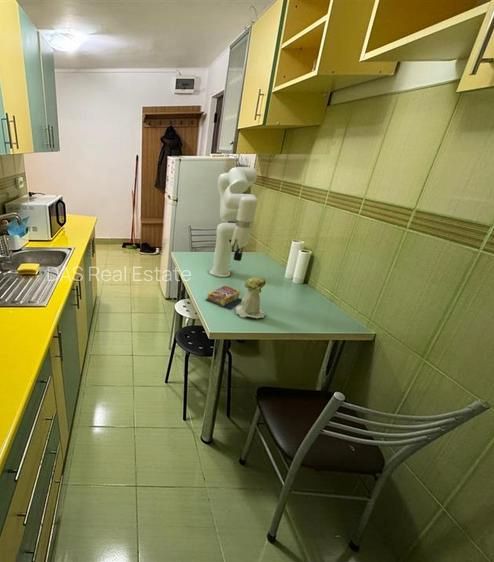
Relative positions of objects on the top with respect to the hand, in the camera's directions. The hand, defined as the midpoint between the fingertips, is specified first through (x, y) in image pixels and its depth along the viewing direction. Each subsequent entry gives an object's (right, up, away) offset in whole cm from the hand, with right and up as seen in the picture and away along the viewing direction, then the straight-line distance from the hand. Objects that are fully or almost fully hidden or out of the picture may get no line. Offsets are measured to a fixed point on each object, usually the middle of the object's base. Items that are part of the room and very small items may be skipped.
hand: (237, 260), depth 151 cm
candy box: (0, -16, +8) cm, 18 cm away
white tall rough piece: (+3, -26, -8) cm, 27 cm away
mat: (-5, -20, +3) cm, 21 cm away
